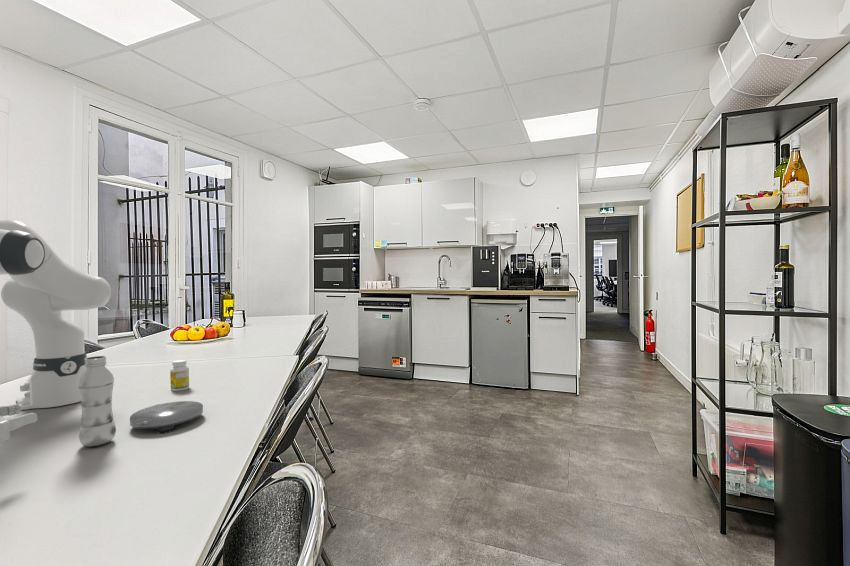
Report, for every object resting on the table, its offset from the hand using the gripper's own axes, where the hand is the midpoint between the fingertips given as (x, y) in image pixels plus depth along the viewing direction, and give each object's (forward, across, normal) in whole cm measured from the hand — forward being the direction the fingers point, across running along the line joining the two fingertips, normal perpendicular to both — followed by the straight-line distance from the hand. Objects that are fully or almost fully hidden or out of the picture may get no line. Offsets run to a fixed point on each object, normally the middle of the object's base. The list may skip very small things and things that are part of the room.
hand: (27, 412), depth 79 cm
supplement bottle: (+44, +29, +11) cm, 54 cm away
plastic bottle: (+11, 0, +11) cm, 16 cm away
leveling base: (+26, 0, +11) cm, 29 cm away
